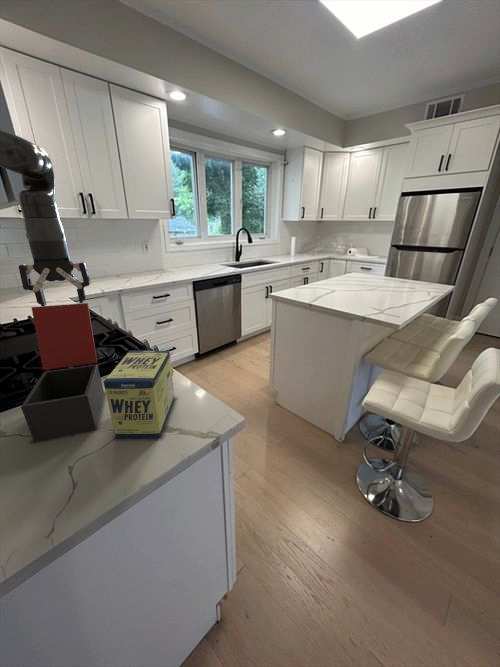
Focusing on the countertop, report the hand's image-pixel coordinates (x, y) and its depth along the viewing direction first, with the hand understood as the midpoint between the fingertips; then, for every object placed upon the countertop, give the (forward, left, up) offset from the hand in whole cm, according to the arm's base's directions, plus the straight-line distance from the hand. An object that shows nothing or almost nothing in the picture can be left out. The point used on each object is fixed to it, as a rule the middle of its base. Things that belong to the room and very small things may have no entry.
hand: (63, 303), depth 72 cm
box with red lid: (+6, -11, -26) cm, 29 cm away
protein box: (+25, -8, -26) cm, 37 cm away
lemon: (+22, +8, -26) cm, 35 cm away
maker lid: (+1, -3, -8) cm, 9 cm away
